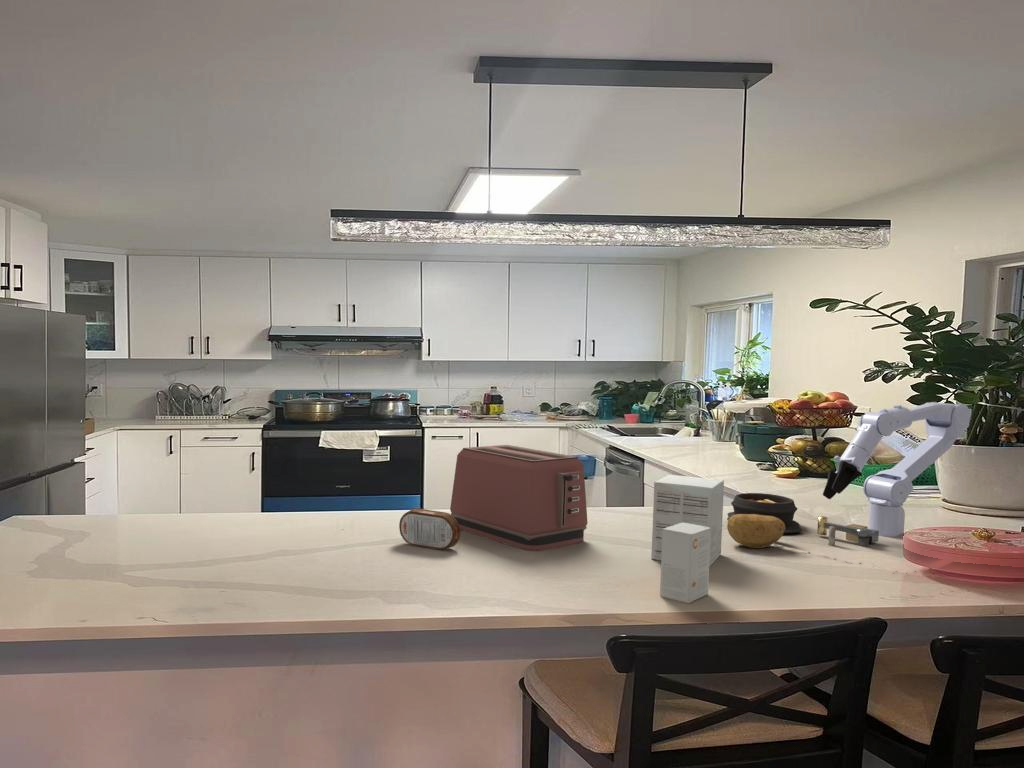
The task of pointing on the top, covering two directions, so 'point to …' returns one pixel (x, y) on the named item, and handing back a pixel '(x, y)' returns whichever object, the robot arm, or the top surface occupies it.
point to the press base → (861, 540)
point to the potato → (755, 529)
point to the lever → (846, 529)
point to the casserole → (767, 508)
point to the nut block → (853, 536)
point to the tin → (429, 529)
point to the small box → (685, 562)
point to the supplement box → (688, 508)
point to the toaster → (520, 496)
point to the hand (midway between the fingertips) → (830, 494)
